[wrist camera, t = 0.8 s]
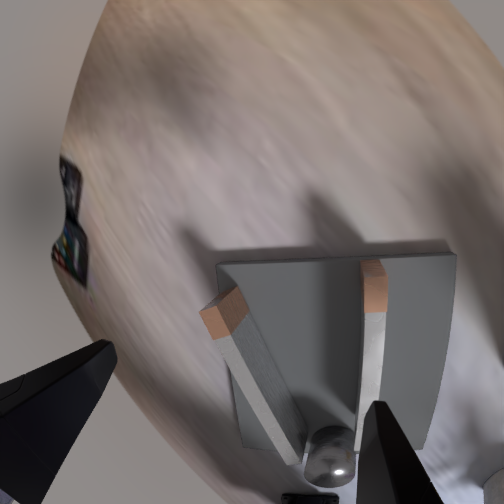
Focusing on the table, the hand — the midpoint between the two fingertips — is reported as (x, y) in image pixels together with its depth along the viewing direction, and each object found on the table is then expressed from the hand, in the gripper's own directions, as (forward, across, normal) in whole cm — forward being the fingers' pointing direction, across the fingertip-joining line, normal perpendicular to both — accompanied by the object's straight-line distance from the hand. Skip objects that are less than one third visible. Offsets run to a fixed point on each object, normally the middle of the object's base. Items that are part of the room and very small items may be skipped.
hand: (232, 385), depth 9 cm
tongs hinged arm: (+10, -3, +11) cm, 15 cm away
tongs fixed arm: (+11, -7, +7) cm, 15 cm away
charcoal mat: (+11, -5, +10) cm, 16 cm away
